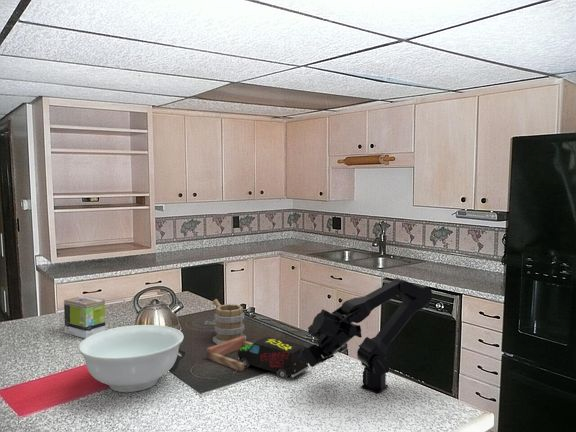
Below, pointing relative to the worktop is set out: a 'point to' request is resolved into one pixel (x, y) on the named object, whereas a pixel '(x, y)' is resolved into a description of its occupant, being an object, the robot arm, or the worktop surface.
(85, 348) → the bowl
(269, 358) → the toy van
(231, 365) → the wooden corner rails
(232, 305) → the tankard
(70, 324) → the tea box
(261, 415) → the worktop surface
